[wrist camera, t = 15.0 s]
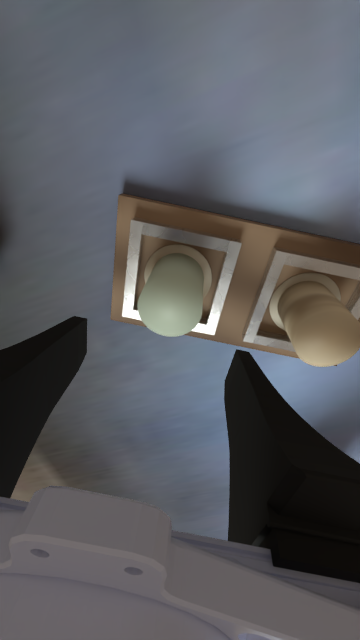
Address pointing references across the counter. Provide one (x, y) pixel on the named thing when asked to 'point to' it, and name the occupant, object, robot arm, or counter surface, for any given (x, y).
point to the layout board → (229, 269)
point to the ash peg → (318, 324)
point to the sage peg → (172, 296)
